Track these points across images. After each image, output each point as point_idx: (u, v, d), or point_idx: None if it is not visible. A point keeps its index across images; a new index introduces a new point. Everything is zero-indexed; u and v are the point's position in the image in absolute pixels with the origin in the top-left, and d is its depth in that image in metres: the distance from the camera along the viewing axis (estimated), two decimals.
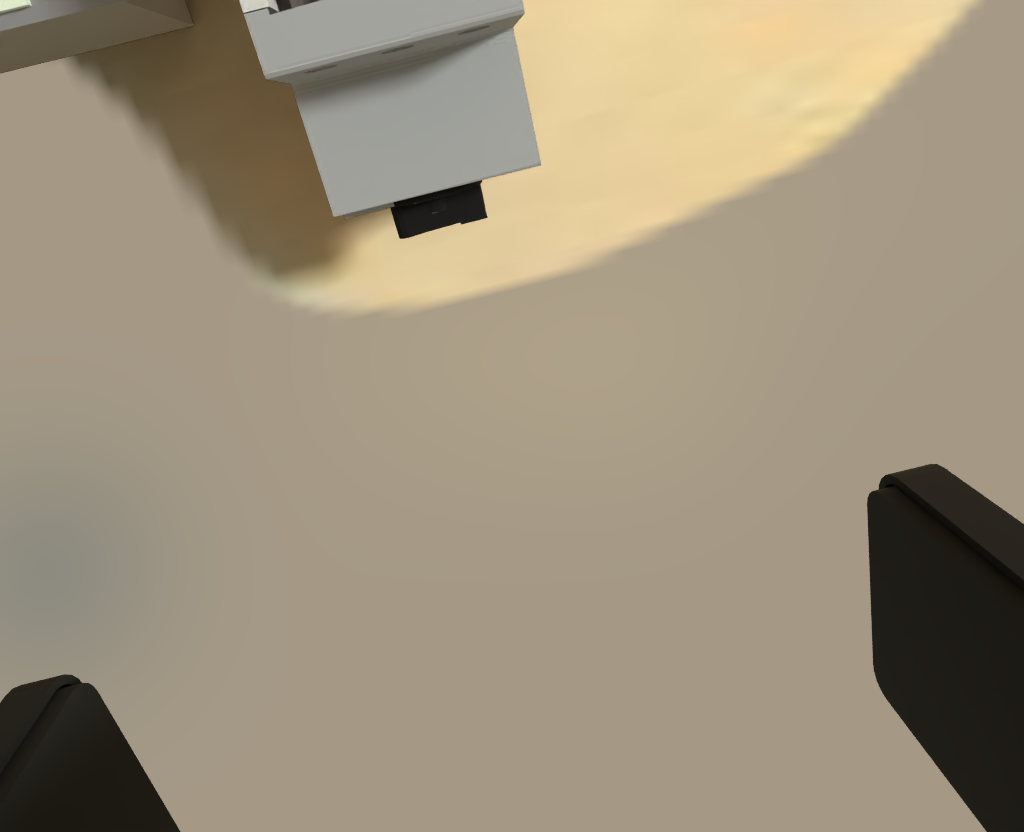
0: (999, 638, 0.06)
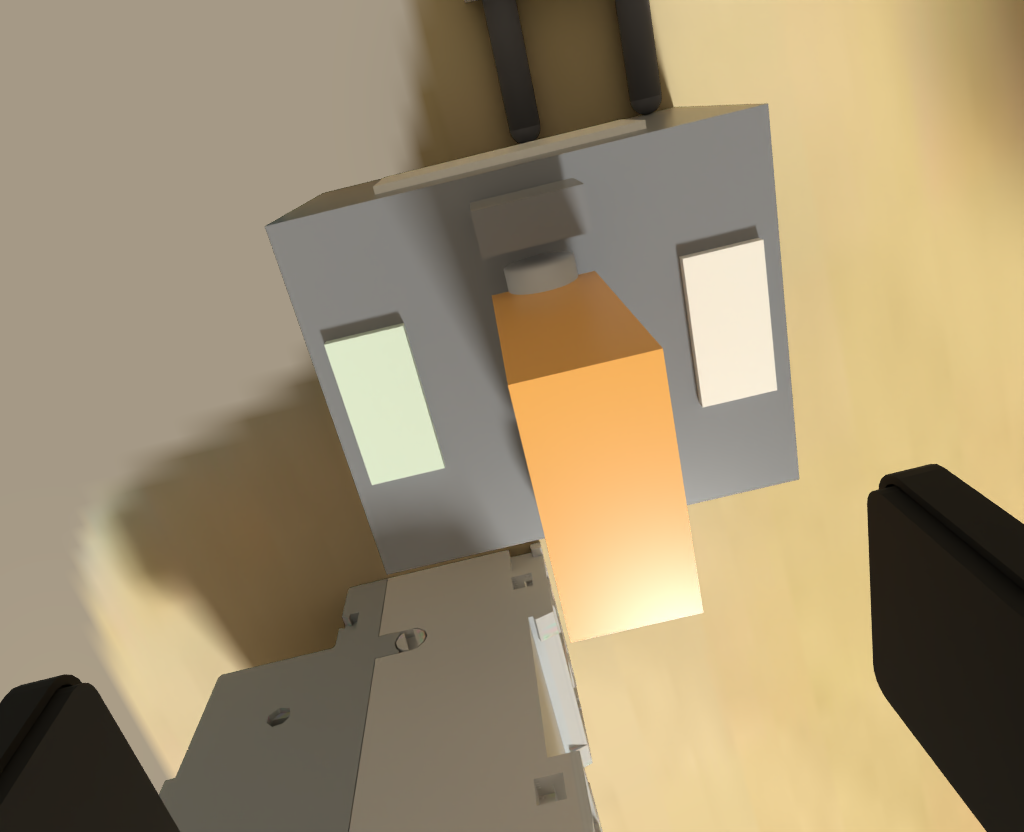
0: (999, 638, 0.06)
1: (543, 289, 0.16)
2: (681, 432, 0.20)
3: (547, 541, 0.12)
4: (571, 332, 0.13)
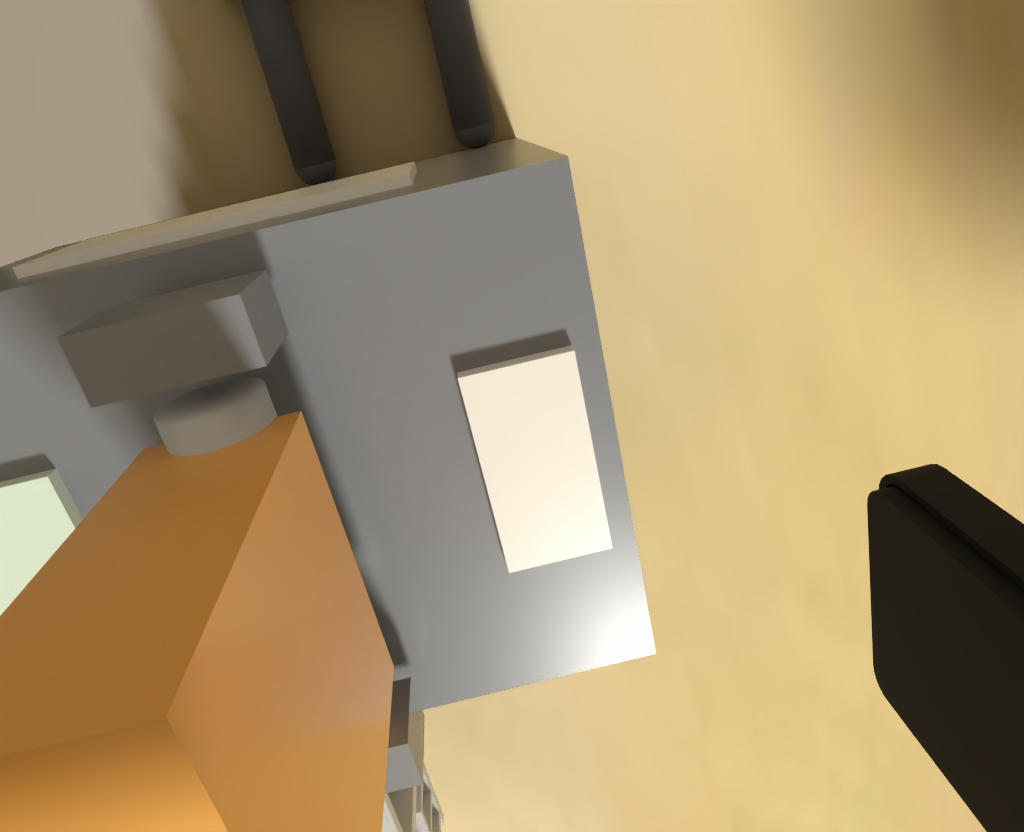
0: (999, 638, 0.06)
1: (201, 450, 0.10)
2: (486, 600, 0.14)
3: None
4: (114, 600, 0.07)
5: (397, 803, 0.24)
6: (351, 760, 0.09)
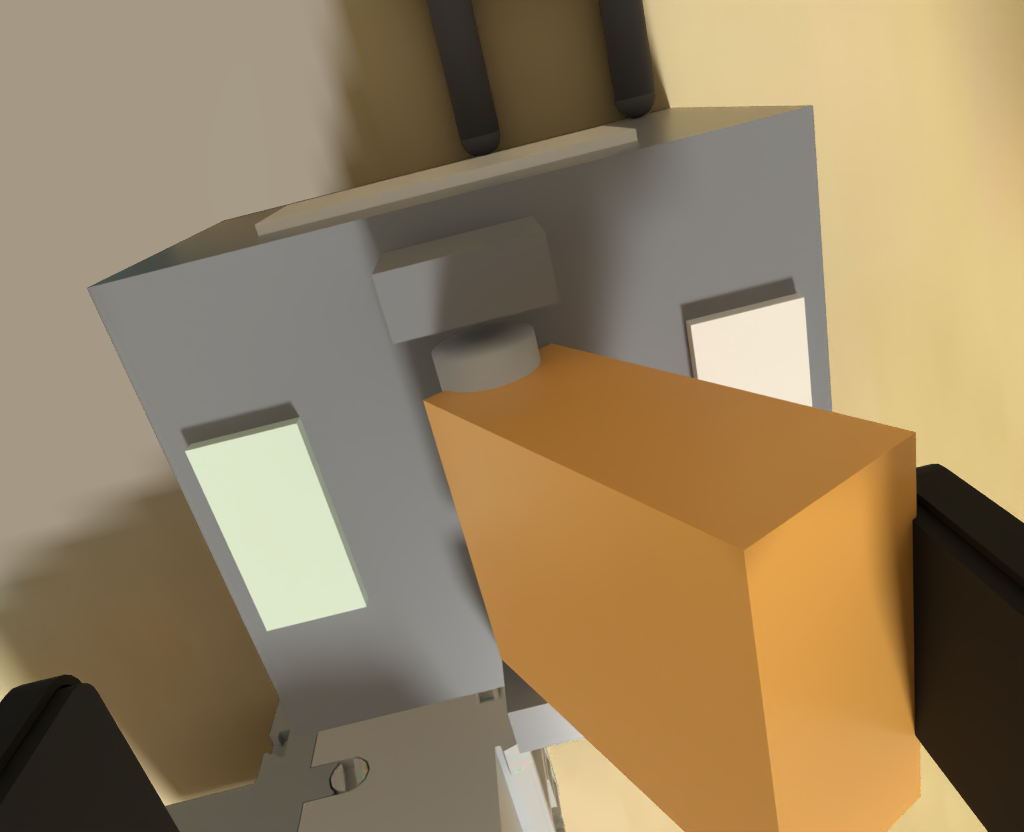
0: (1000, 638, 0.06)
1: (514, 377, 0.11)
2: None
3: (777, 792, 0.07)
4: (689, 433, 0.08)
5: None
6: None
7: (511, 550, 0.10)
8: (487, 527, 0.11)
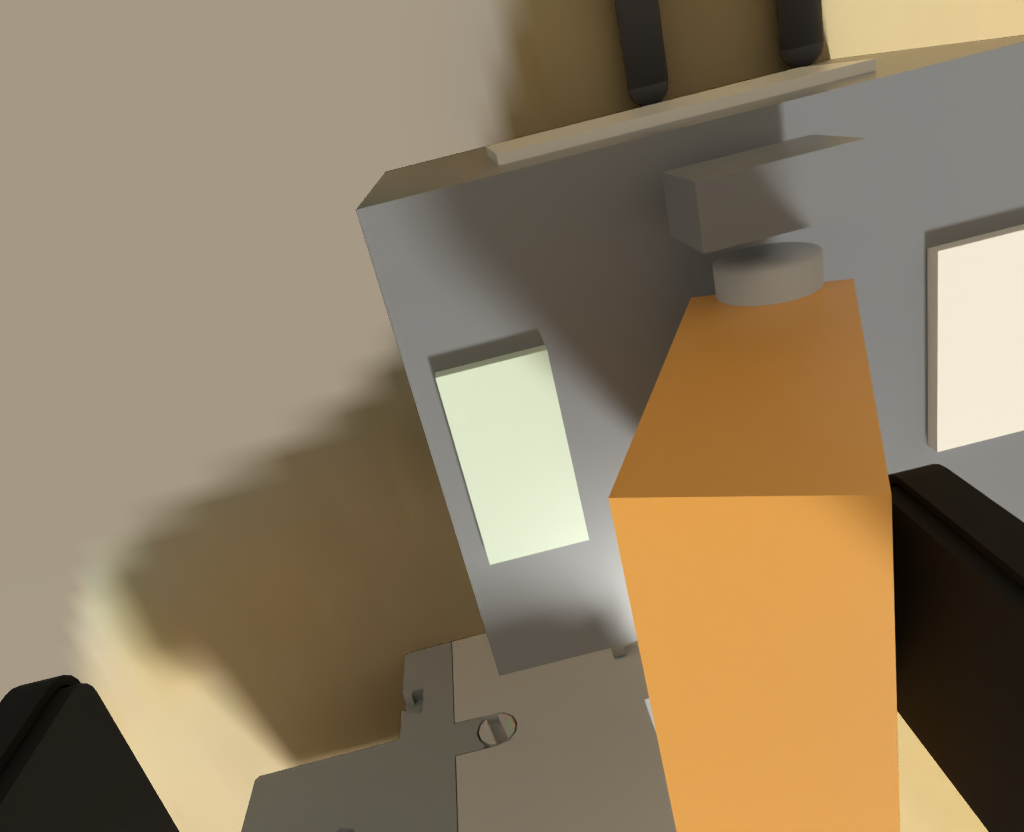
0: (1001, 638, 0.06)
1: (761, 301, 0.11)
2: None
3: (654, 718, 0.08)
4: (757, 405, 0.08)
5: None
6: None
7: None
8: None
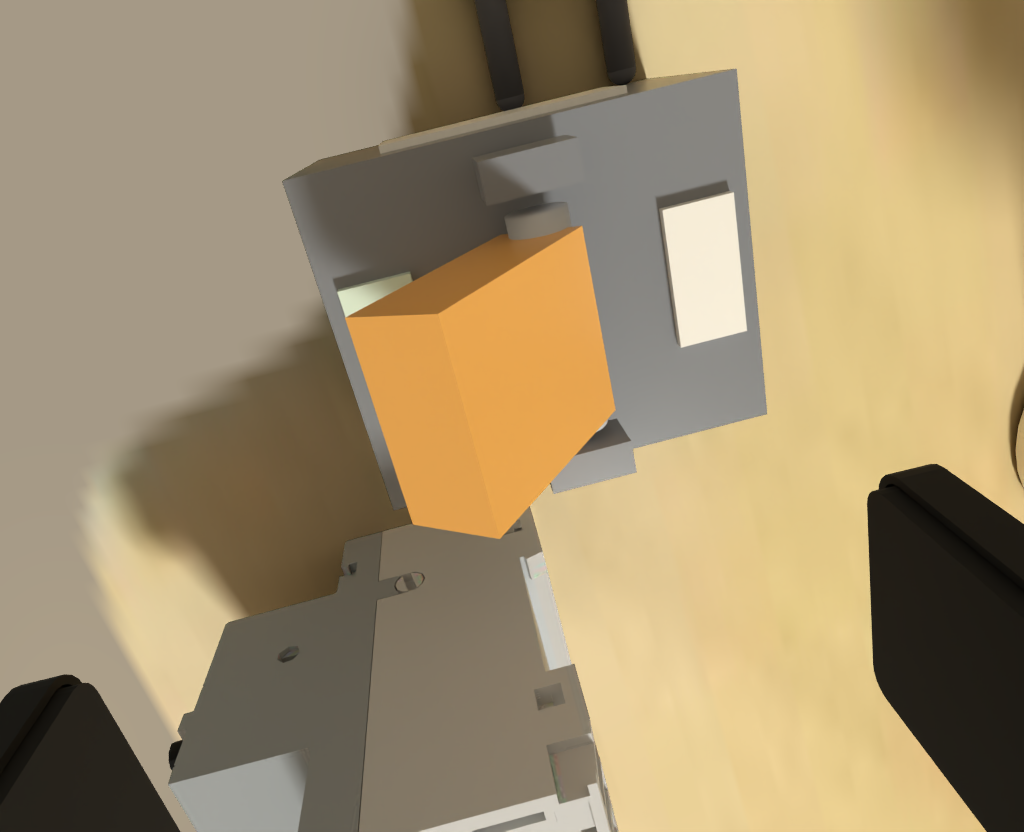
0: (999, 638, 0.06)
1: (521, 237, 0.18)
2: (662, 371, 0.22)
3: None
4: (446, 284, 0.15)
5: None
6: (549, 420, 0.17)
7: None
8: None
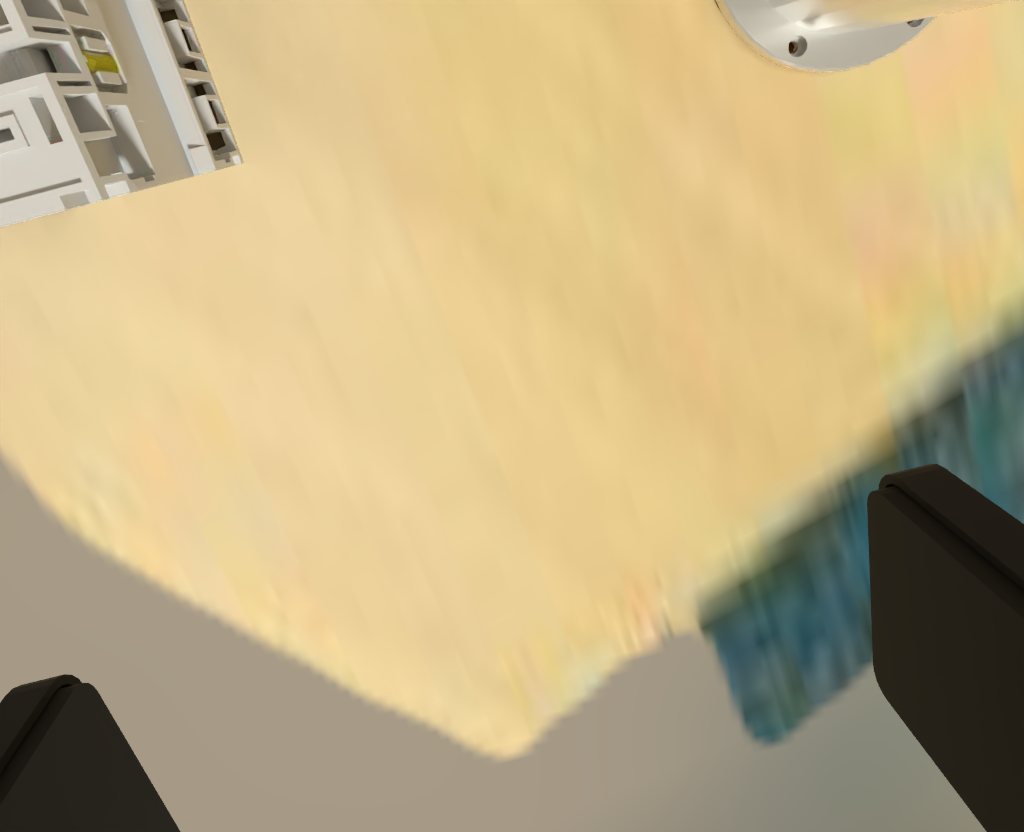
0: (999, 638, 0.06)
1: None
2: None
3: None
4: None
5: None
6: None
7: None
8: None
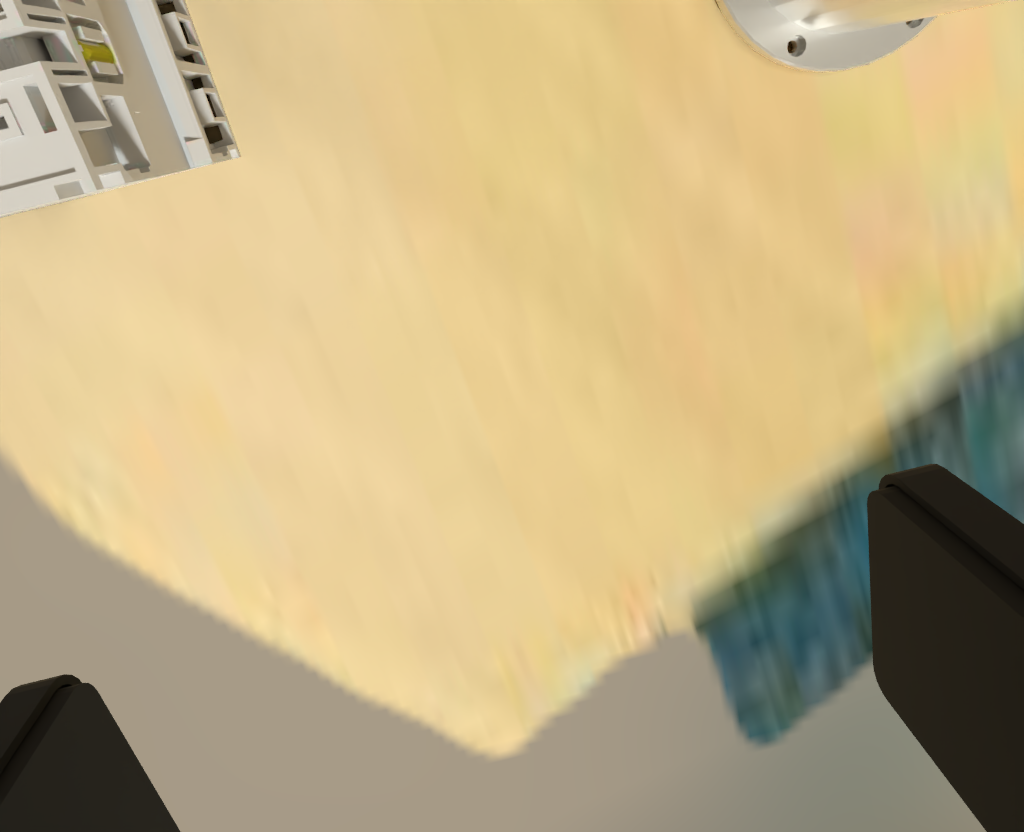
0: (999, 638, 0.06)
1: None
2: None
3: None
4: None
5: None
6: None
7: None
8: None
